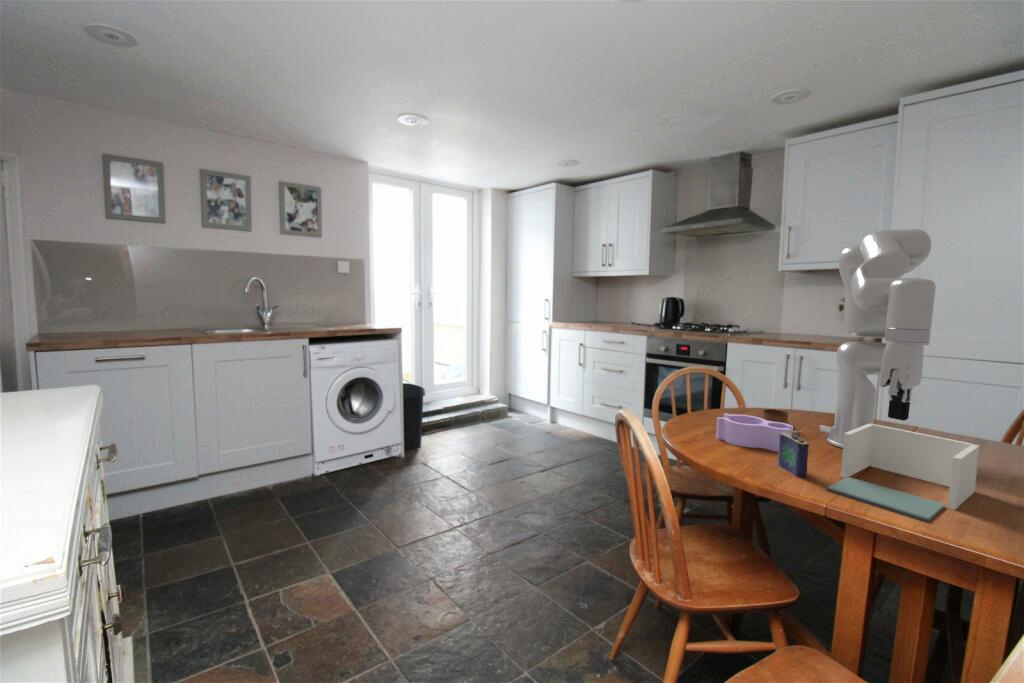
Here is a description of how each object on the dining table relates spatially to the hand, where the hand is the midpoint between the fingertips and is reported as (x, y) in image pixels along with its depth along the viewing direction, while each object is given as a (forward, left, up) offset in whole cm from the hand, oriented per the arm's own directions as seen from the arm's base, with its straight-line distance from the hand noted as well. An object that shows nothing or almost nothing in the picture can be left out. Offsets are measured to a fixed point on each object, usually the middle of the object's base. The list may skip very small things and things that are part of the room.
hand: (897, 418), depth 104 cm
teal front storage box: (0, +10, -19) cm, 21 cm away
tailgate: (0, +2, -18) cm, 18 cm away
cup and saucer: (-41, +33, -19) cm, 56 cm away
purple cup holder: (-38, +13, -19) cm, 44 cm away
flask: (-19, -4, -19) cm, 27 cm away
